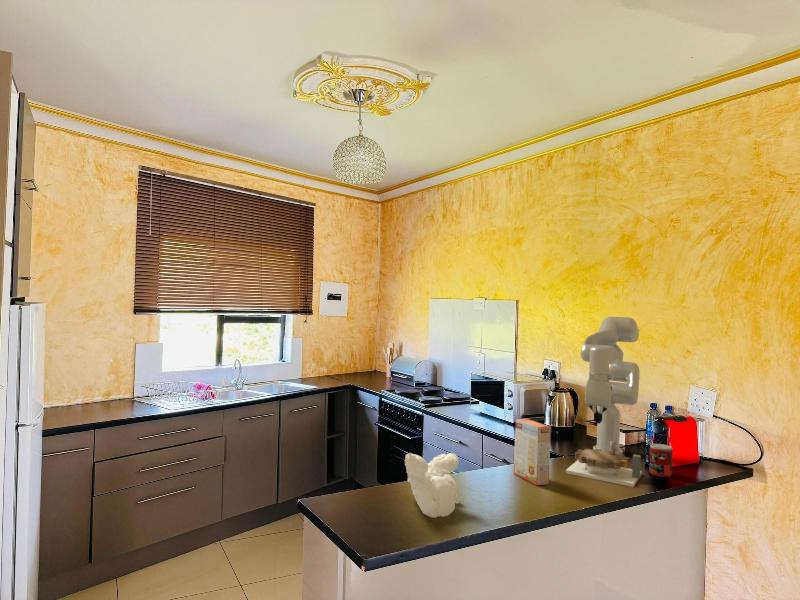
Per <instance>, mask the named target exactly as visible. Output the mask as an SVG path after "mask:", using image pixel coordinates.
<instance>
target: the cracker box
mask: <svg viewBox="0 0 800 600" xmlns="http://www.w3.org/2000/svg"><path fill="white" fill-rule="evenodd" d="M514 430H515V434H514V454H513V455H514V457H513V475H515V476H517V477H519V478H521V479H523V480H525V481H527V482H529V483H530V484H532V485H534V486H547V485H550V465H551V463H550V460H551V459H550V457H551V456H550V455H551V434H552V426H550V425H547V424H543V423H541V422H538V421H535V420H532V419H529V418H522V419H521V418H518V419H515V429H514Z"/></svg>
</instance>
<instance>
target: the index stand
mask: <svg viewBox="0 0 800 600" xmlns="http://www.w3.org/2000/svg"><path fill="white" fill-rule="evenodd" d="M641 458H642V457H641V455H640V454H636V453H635V454H634V453H633V455H632V468H628V467H627V468H623V467H621V469H614V468H608V469H604V468H601V467H598V466H594V467H592V466H588V464H586V463H580V462H578V460H575V462H574V463H572V464H571V465H570V466H569V467H568V468H567V469H565V474H568V475H574V476H578V477H583V478H588V479H593V480H596V481H602V482H607V483H612V484H617V485H622V486H625V487H630V488H631V487H632V488H634V487H635V485H636V484H637V482H638V480H639V479H640V478H641V476H642V473H643V472H642V470H641V468H642V467H641V466H642V465H641V461H642V459H641Z"/></svg>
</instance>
